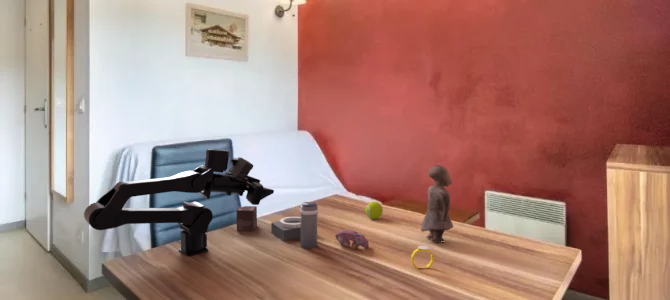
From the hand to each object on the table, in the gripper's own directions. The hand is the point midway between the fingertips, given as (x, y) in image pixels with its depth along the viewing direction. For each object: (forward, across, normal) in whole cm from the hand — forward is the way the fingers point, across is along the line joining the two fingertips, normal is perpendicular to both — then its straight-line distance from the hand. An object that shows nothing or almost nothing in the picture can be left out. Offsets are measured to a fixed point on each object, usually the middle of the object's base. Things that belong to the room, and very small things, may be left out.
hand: (266, 186), depth 134 cm
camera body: (+10, -9, +13) cm, 19 cm away
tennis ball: (+45, -12, +6) cm, 47 cm away
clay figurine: (+42, -41, 0) cm, 59 cm away
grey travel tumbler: (+7, -21, +11) cm, 25 cm away
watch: (+20, -53, +2) cm, 56 cm away
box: (+1, +6, +18) cm, 19 cm away
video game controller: (+17, -29, +8) cm, 35 cm away
